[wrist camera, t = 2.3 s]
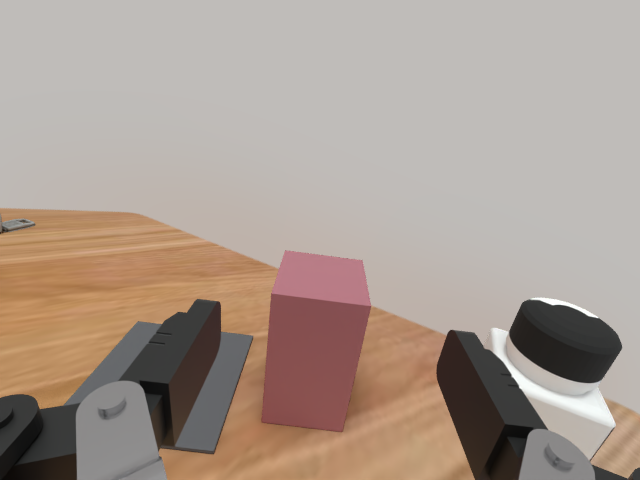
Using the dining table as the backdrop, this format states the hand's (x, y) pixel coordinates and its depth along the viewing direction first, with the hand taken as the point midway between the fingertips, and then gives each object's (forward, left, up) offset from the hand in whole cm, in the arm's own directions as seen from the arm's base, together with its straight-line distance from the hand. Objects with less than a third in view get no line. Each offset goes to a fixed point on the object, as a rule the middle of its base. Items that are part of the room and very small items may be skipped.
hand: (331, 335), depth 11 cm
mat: (-16, +4, -16) cm, 23 cm away
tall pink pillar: (-6, +10, -16) cm, 20 cm away
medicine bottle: (+10, +18, -16) cm, 26 cm away
